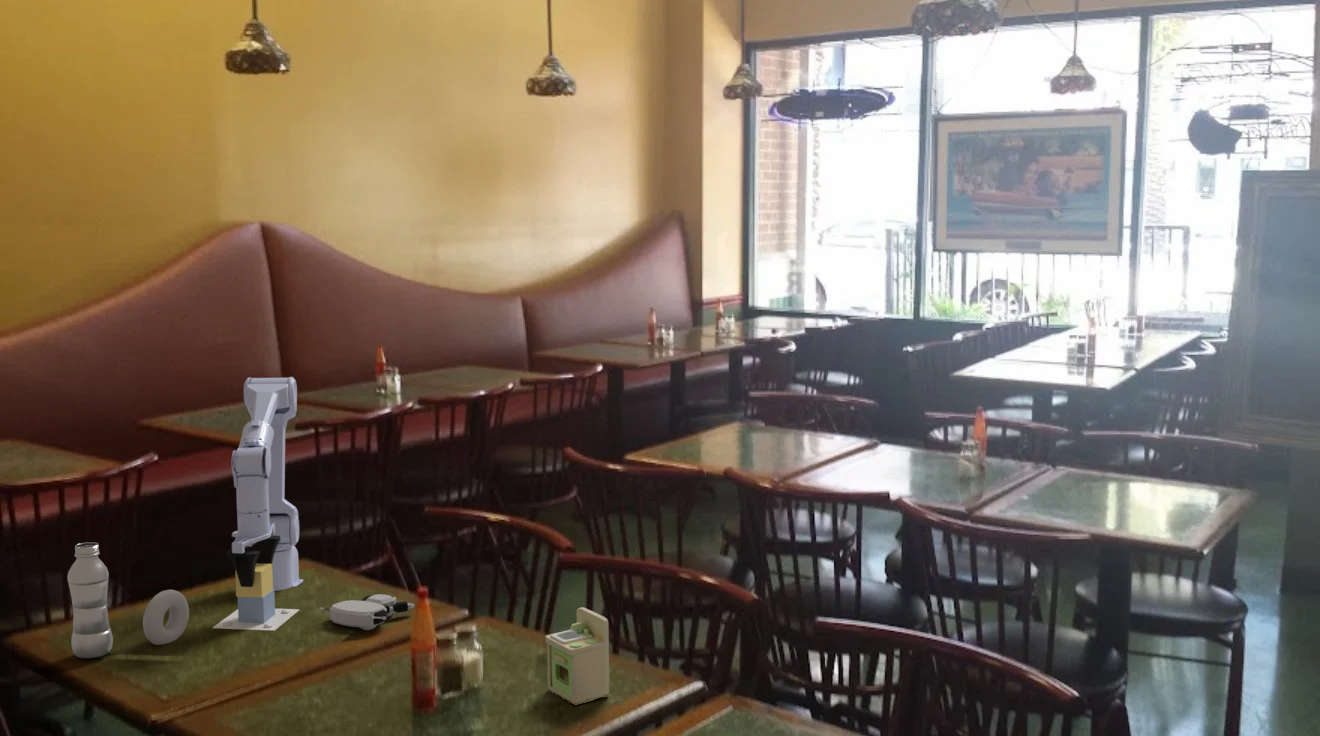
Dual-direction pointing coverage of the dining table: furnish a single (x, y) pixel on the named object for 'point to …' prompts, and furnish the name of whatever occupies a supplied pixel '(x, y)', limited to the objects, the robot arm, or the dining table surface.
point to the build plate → (270, 625)
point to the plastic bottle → (89, 603)
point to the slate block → (256, 608)
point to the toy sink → (580, 658)
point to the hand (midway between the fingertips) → (255, 580)
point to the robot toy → (366, 611)
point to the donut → (156, 613)
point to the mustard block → (257, 582)
